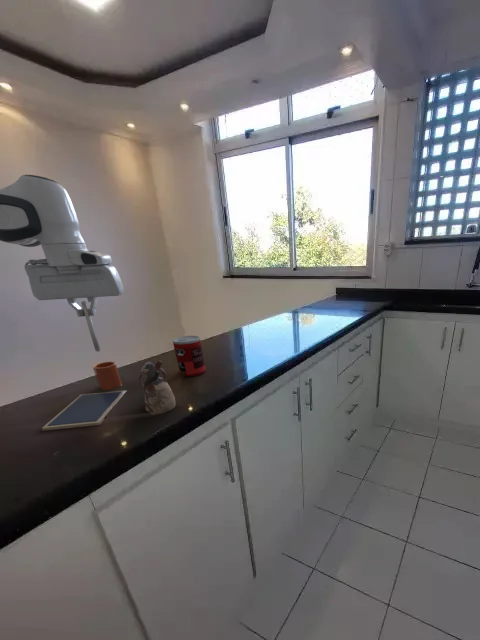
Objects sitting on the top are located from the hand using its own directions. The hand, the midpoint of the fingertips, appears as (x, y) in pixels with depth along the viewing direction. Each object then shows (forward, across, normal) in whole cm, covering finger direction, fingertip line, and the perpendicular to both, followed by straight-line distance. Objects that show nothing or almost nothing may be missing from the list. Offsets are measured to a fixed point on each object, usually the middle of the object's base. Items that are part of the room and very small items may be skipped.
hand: (88, 315), depth 81 cm
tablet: (+21, 0, -14) cm, 25 cm away
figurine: (+21, +18, -17) cm, 32 cm away
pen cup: (+21, 0, 0) cm, 21 cm away
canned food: (+21, +22, +7) cm, 31 cm away
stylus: (+9, 0, -1) cm, 9 cm away
